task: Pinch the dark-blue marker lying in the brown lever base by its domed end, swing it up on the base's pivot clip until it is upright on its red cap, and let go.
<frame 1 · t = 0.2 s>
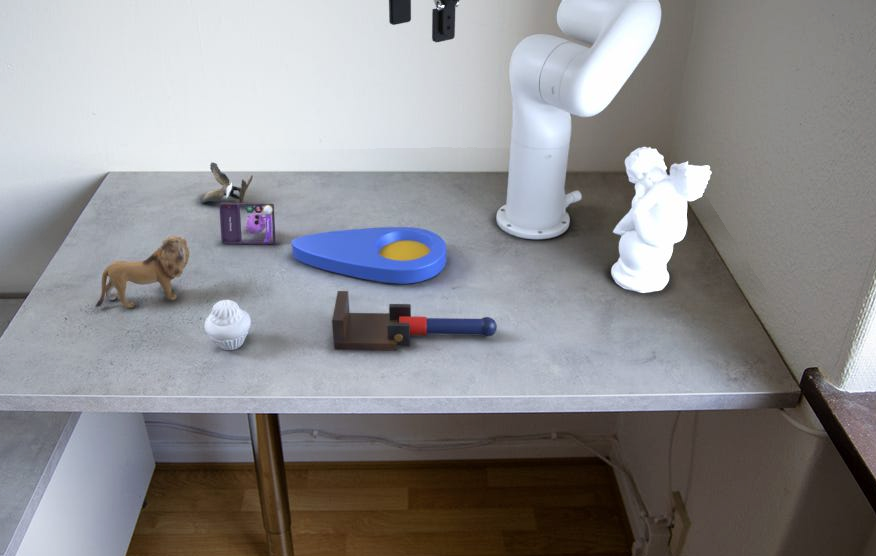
hand: (421, 31, 101), 37 cm above the table, tool pointing down, fingers open, 9 cm apart
cherub figurine: (651, 279, 120), on the table
marker: (448, 326, 107), point 2 cm above the table, hinge at 0.0°
lion figurine: (150, 296, 116), on the table
brown lever base: (399, 334, 108), on the table
muffin: (231, 344, 107), on the table
eagle figurine: (225, 201, 141), on the table
game card: (251, 238, 130), on the table
location marker: (368, 262, 124), on the table
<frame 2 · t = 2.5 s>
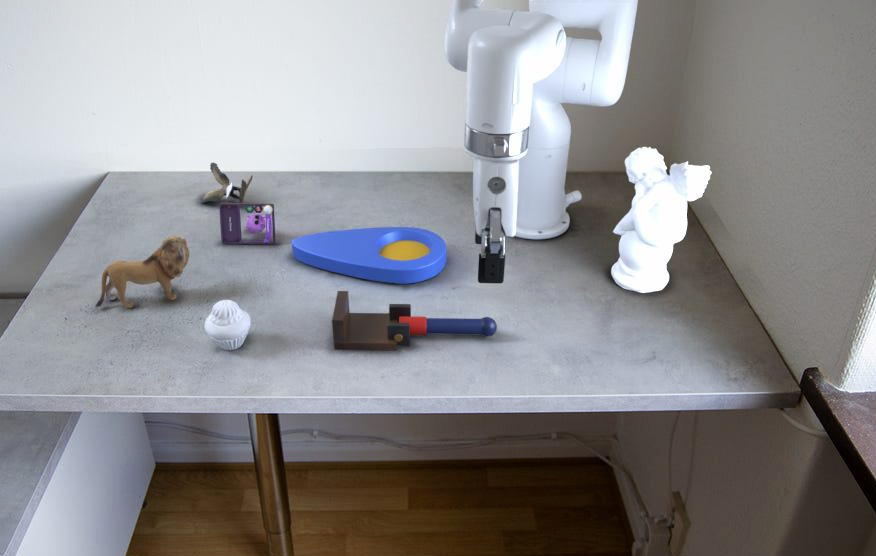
hand: (488, 261, 101), 12 cm above the table, tool pointing down, fingers open, 9 cm apart
nothing on the table moved.
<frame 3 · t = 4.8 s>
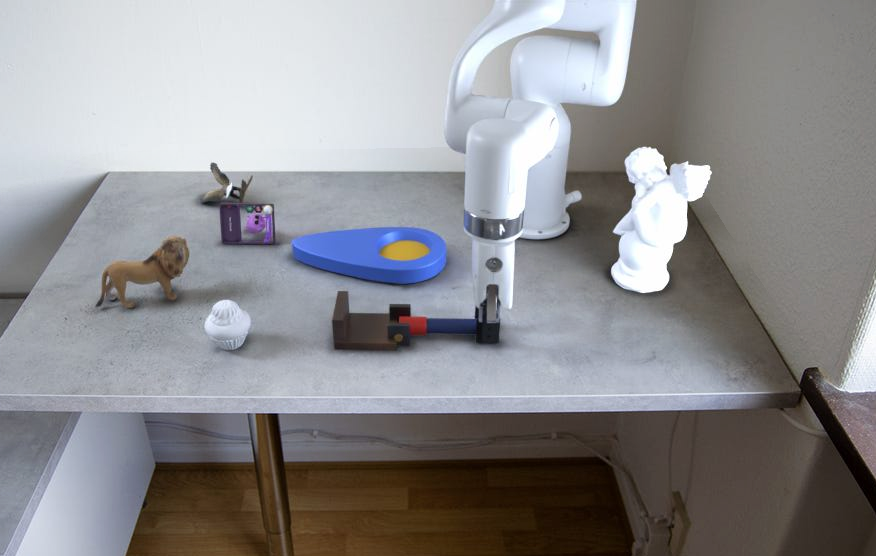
hand: (486, 333, 107), 0 cm above the table, tool pointing down, fingers closed on marker, 2 cm apart
marker: (448, 326, 107), point 2 cm above the table, hinge at 0.0°, touching gripper
everything else where it was.
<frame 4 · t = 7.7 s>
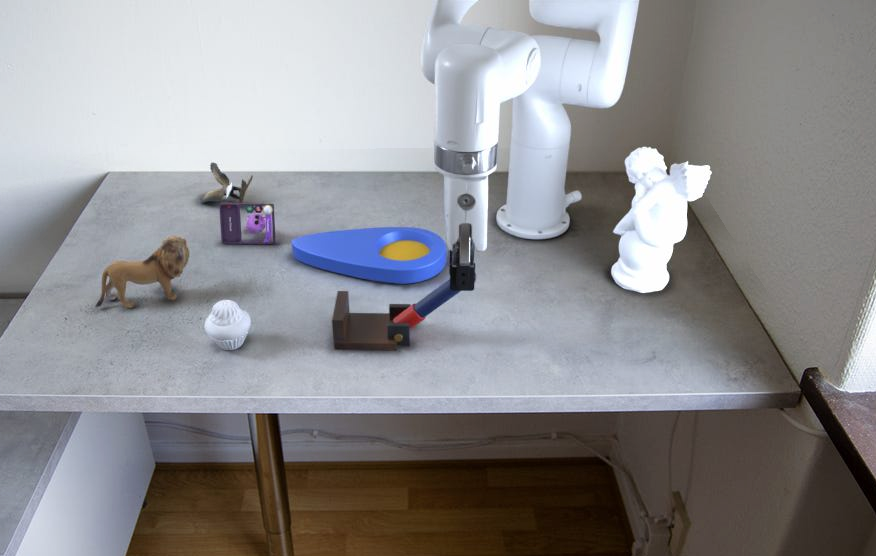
hand: (461, 281, 102), 9 cm above the table, tool pointing down, fingers closed on marker, 2 cm apart
marker: (435, 299, 104), point 6 cm above the table, hinge at 42.3°, touching gripper
everything else where it was.
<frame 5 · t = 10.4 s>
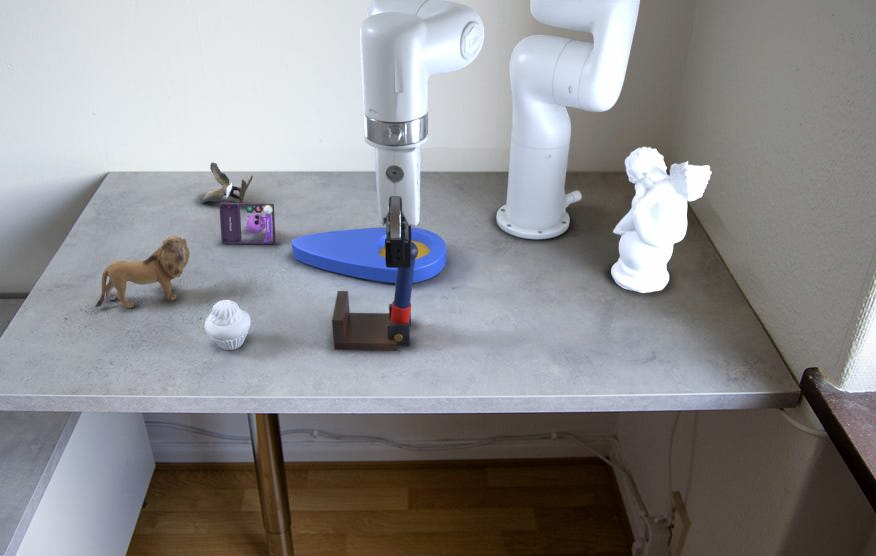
hand: (398, 258, 101), 13 cm above the table, tool pointing down, fingers closed on marker, 2 cm apart
marker: (403, 285, 103), point 8 cm above the table, hinge at 83.9°, touching gripper
everything else where it was.
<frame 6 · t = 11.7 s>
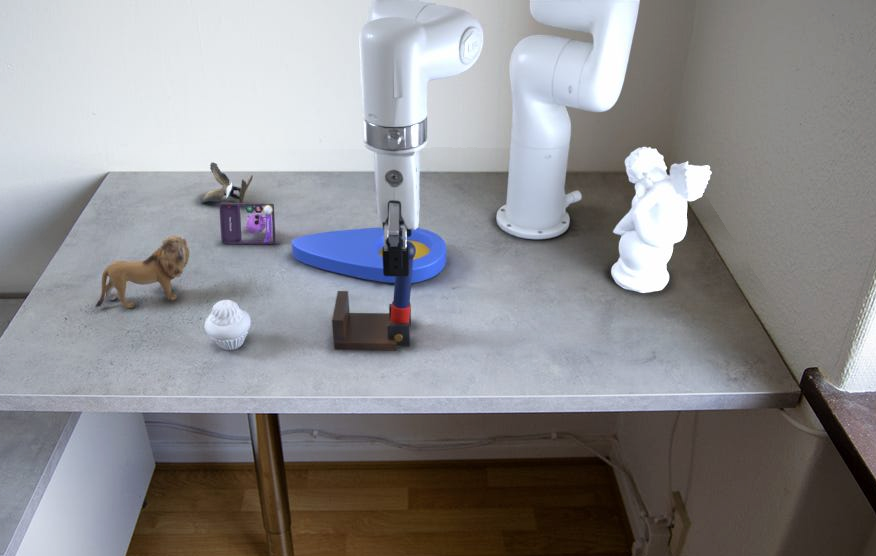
hand: (398, 254, 100), 13 cm above the table, tool pointing down, fingers open, 9 cm apart
marker: (402, 285, 103), point 8 cm above the table, hinge at 85.3°
everything else where it was.
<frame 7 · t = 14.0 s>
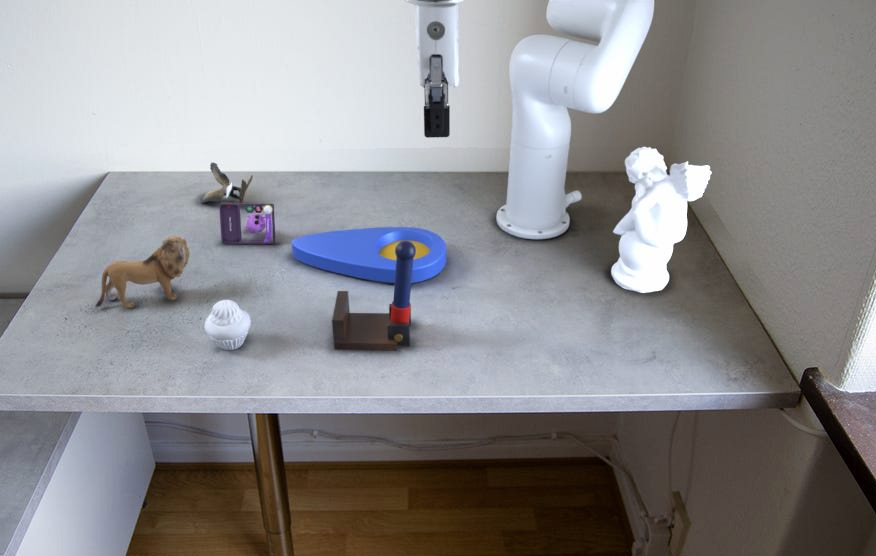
hand: (436, 120, 102), 27 cm above the table, tool pointing down, fingers open, 9 cm apart
nothing on the table moved.
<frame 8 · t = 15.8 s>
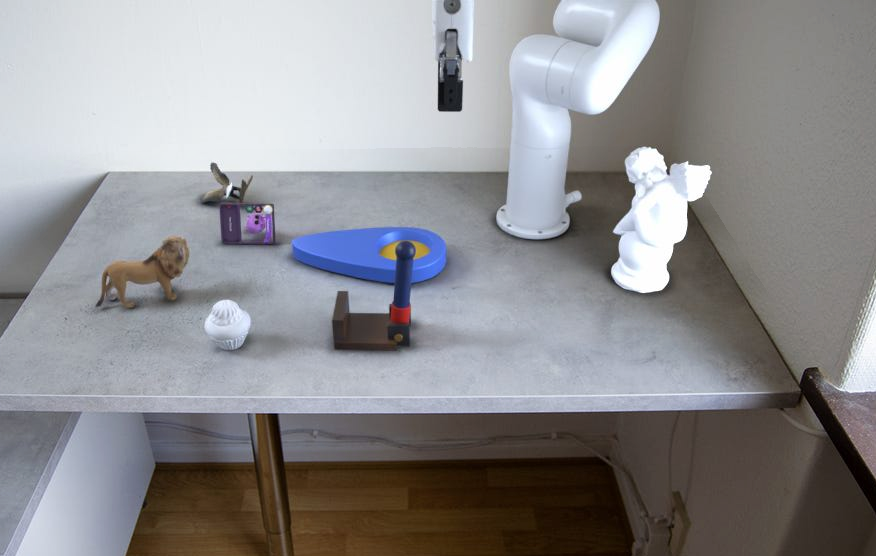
hand: (449, 97, 105), 28 cm above the table, tool pointing down, fingers open, 9 cm apart
nothing on the table moved.
at the end: marker at +85° (first picture: +0°); the gripper is holding nothing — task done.
